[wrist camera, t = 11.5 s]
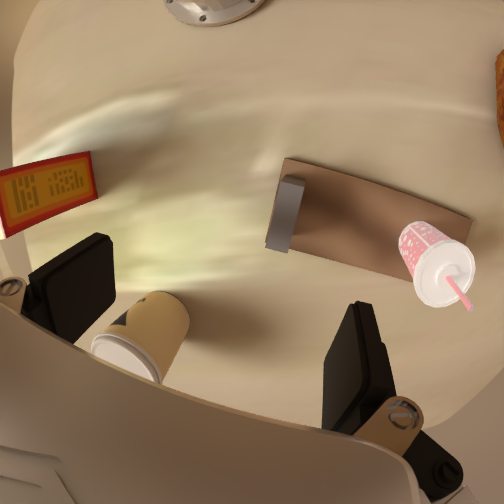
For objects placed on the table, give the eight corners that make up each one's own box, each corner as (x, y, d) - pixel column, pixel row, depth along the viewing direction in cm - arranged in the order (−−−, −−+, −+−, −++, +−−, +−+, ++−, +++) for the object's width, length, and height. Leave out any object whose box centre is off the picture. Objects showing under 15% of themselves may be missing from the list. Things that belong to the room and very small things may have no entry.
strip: (284, 157, 28) (278, 162, 23) (469, 218, 26) (494, 235, 20) (266, 239, 32) (256, 261, 26) (441, 287, 29) (459, 314, 24)
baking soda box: (56, 207, 36) (-26, 245, 22) (48, 166, 34) (-38, 192, 20) (97, 198, 34) (3, 239, 20) (89, 151, 32) (-11, 173, 17)
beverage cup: (404, 274, 30) (447, 356, 17) (380, 232, 29) (423, 303, 16) (446, 245, 28) (508, 313, 15) (424, 201, 26) (493, 252, 14)
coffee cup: (147, 272, 37) (93, 322, 26) (207, 311, 37) (169, 375, 26) (130, 316, 41) (85, 366, 30) (181, 351, 41) (146, 409, 30)
